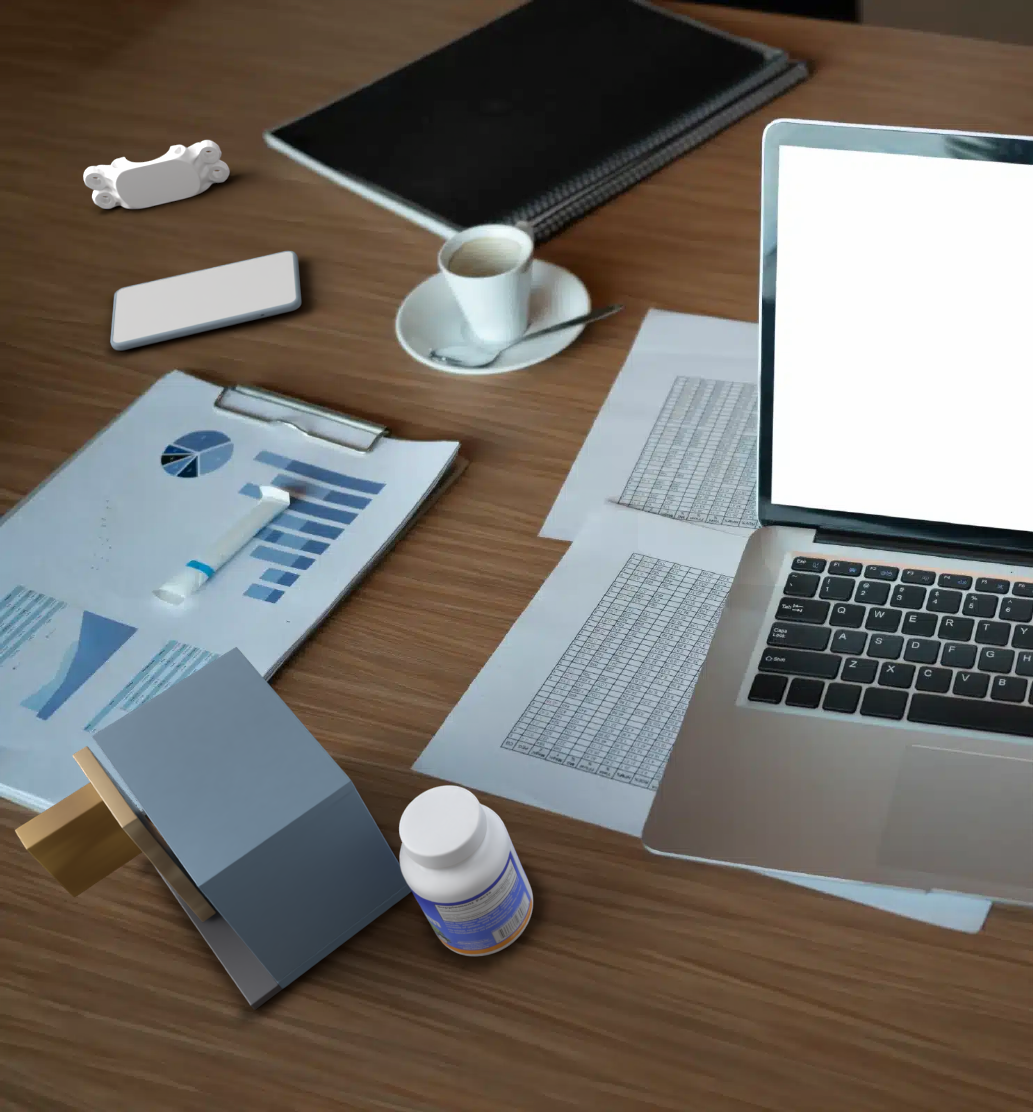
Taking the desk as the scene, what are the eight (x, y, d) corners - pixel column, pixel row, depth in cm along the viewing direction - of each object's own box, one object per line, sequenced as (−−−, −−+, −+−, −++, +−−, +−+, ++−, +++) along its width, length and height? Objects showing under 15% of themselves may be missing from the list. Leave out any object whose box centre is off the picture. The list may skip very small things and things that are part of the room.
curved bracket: (98, 219, 119) (78, 181, 116) (97, 205, 120) (77, 167, 118) (234, 186, 122) (218, 148, 119) (232, 173, 123) (215, 135, 120)
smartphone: (113, 288, 110) (295, 247, 112) (118, 297, 111) (299, 257, 113) (108, 347, 104) (299, 302, 107) (114, 356, 105) (303, 312, 108)
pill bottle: (430, 884, 72) (377, 789, 65) (527, 855, 73) (485, 758, 66) (441, 974, 69) (386, 883, 61) (543, 941, 70) (501, 849, 62)
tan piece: (131, 973, 68) (39, 881, 61) (84, 899, 71) (-9, 804, 64) (216, 912, 71) (137, 817, 63) (167, 843, 74) (86, 745, 66)
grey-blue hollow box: (254, 1010, 68) (165, 910, 59) (153, 864, 74) (59, 755, 66) (414, 889, 72) (351, 780, 64) (306, 761, 78) (236, 646, 70)
